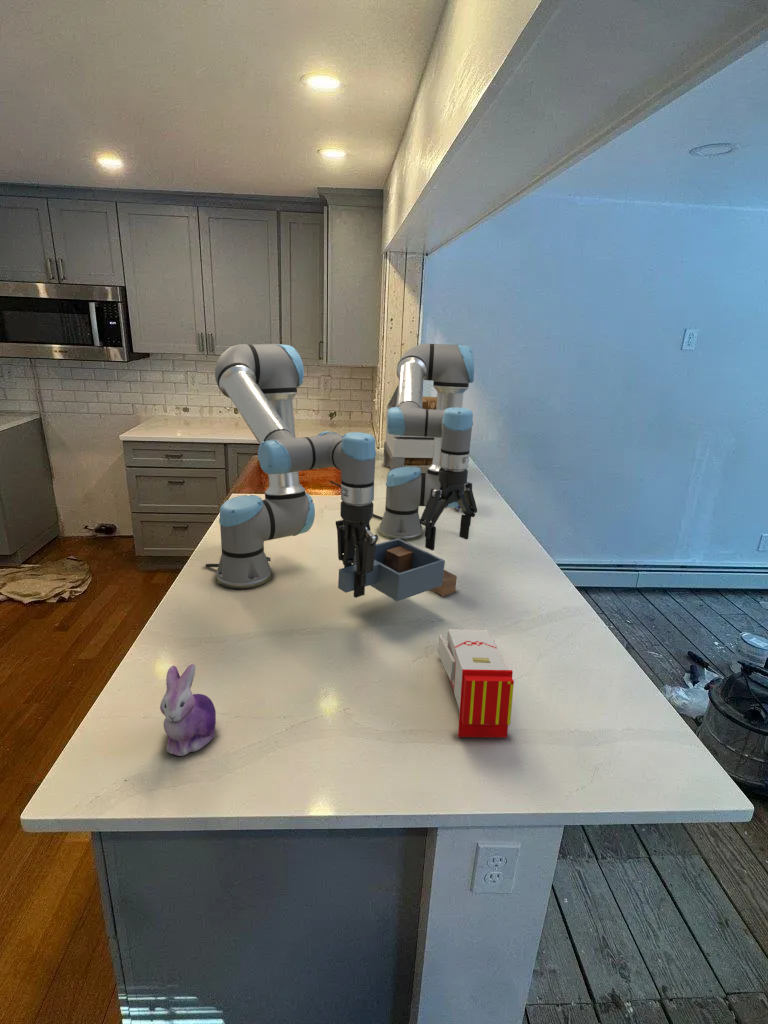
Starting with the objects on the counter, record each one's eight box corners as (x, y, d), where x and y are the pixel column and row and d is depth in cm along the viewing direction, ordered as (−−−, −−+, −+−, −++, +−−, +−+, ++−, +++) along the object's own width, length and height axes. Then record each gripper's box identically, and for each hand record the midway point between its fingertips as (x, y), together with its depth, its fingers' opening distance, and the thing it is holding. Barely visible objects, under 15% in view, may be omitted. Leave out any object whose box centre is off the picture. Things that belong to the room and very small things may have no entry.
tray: (320, 584, 141) (321, 558, 139) (396, 561, 158) (398, 538, 155) (364, 613, 129) (366, 585, 127) (442, 585, 145) (444, 560, 143)
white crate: (382, 463, 289) (386, 382, 275) (445, 464, 293) (451, 384, 279) (390, 482, 257) (394, 392, 243) (460, 483, 261) (468, 394, 247)
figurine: (168, 766, 96) (159, 693, 91) (160, 728, 104) (152, 659, 99) (224, 749, 100) (219, 678, 95) (212, 714, 109) (207, 646, 103)
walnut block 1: (385, 567, 152) (386, 550, 150) (398, 562, 155) (399, 546, 153) (397, 573, 148) (399, 556, 147) (411, 569, 151) (412, 552, 150)
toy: (488, 613, 130) (523, 677, 101) (484, 667, 133) (517, 744, 104) (435, 612, 130) (455, 676, 101) (432, 666, 133) (451, 743, 103)
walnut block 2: (430, 590, 161) (431, 574, 159) (442, 585, 164) (444, 569, 162) (443, 596, 157) (444, 580, 156) (455, 591, 161) (456, 576, 159)
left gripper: (323, 494, 133) (322, 584, 141) (366, 514, 122) (363, 610, 130) (348, 489, 138) (346, 576, 146) (392, 508, 126) (387, 601, 134)
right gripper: (430, 478, 138) (424, 558, 145) (495, 465, 154) (487, 537, 161) (409, 471, 143) (404, 548, 150) (474, 459, 159) (467, 529, 166)
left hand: (354, 592), depth 138 cm, fingers closed on tray, 3 cm apart
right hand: (447, 543), depth 155 cm, fingers open, 13 cm apart
